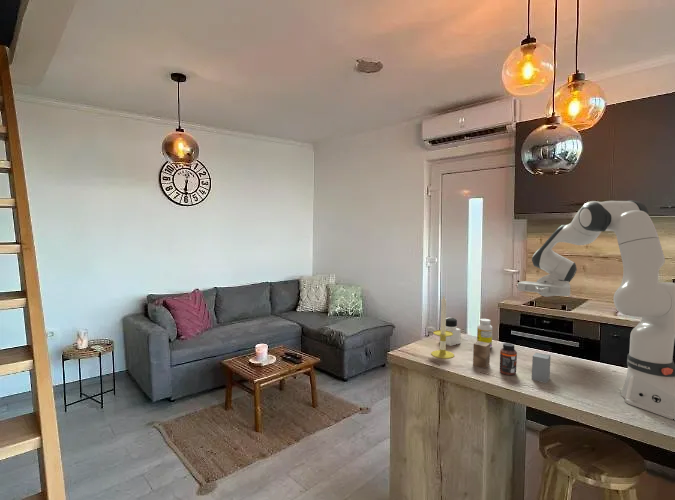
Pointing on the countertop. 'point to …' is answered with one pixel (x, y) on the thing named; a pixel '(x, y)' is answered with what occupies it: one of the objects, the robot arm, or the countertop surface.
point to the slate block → (541, 367)
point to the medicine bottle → (452, 327)
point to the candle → (443, 335)
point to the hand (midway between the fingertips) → (539, 290)
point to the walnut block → (481, 354)
